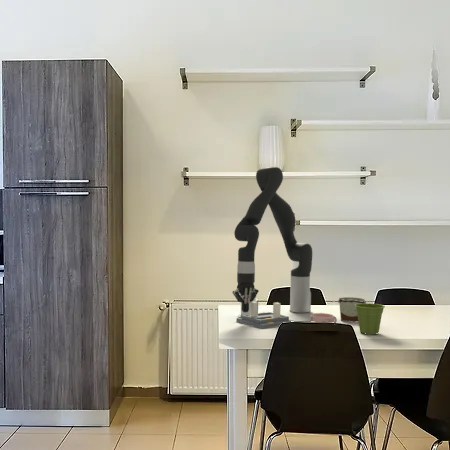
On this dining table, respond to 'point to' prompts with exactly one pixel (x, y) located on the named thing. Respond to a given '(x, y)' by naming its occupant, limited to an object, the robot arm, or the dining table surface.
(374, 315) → the plant pot
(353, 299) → the food container
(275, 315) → the tab
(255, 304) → the tab
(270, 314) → the dark gray tray
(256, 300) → the medicine bottle
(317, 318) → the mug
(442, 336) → the dining table surface
